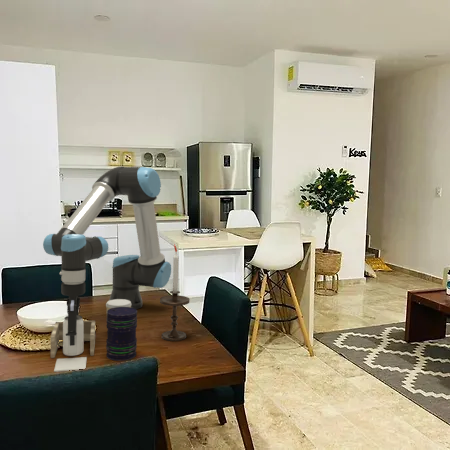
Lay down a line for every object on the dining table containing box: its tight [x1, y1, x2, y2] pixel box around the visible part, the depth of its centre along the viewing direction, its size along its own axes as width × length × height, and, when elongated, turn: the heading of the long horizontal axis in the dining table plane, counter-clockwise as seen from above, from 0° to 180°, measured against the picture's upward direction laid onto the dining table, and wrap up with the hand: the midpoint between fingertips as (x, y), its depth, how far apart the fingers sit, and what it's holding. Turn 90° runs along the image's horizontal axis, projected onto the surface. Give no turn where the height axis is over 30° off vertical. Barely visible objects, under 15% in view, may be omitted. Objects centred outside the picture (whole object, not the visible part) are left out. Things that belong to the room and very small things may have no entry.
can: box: [62, 314, 85, 357], centre depth 151 cm, size 6×6×12 cm
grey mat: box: [53, 356, 88, 373], centre depth 142 cm, size 9×9×1 cm
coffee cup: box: [105, 299, 132, 313], centre depth 171 cm, size 9×9×12 cm
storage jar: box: [105, 307, 138, 362], centre depth 150 cm, size 10×10×15 cm
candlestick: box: [159, 243, 191, 342], centre depth 168 cm, size 11×11×35 cm
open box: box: [50, 320, 96, 359], centre depth 155 cm, size 15×13×7 cm
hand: (73, 349), depth 151 cm, fingers open, 8 cm apart
